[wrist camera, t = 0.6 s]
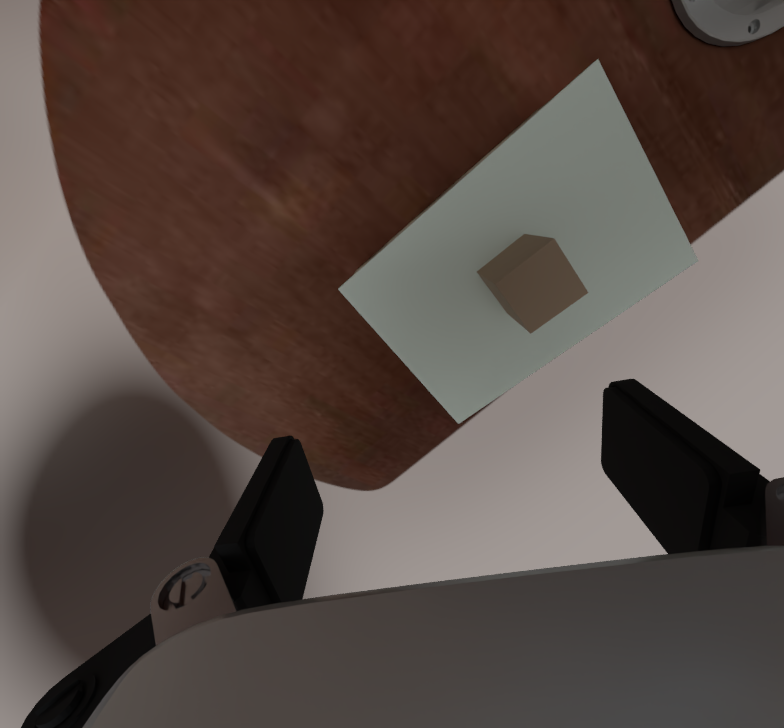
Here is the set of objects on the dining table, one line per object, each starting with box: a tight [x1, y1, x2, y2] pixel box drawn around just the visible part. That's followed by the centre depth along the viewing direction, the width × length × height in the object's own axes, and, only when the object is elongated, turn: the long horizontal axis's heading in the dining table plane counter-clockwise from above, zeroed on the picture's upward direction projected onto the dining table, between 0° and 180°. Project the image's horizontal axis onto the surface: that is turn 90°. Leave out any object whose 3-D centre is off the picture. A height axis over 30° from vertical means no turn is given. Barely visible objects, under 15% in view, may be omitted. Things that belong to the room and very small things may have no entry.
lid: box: [338, 59, 698, 424], centre depth 24 cm, size 21×15×6 cm
